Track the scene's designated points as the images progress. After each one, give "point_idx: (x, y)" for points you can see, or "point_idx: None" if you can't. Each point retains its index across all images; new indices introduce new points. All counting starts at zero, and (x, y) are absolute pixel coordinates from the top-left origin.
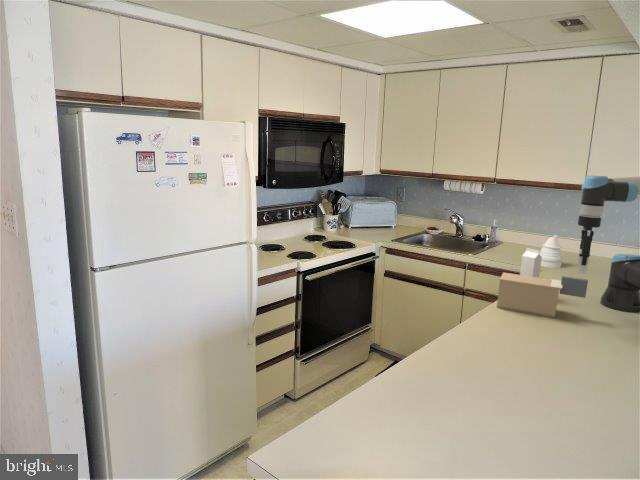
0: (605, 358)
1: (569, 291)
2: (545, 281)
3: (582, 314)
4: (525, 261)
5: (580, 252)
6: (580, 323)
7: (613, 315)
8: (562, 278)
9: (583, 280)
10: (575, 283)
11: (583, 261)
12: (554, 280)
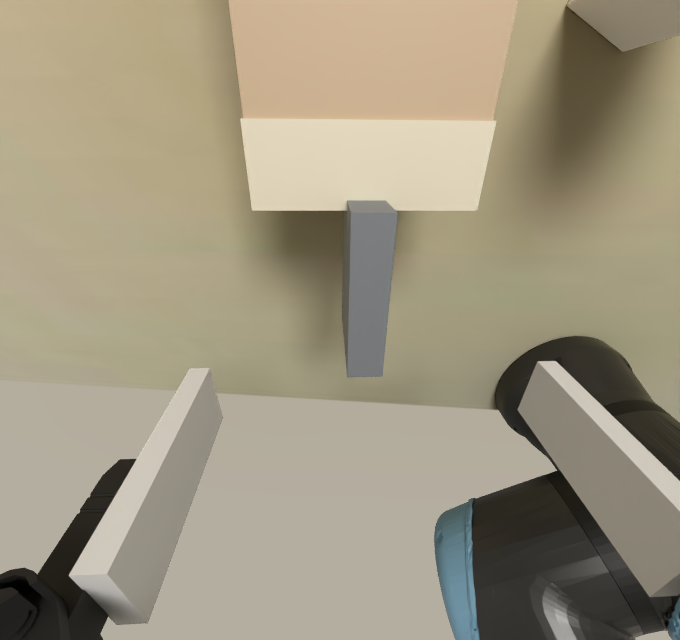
0: (2, 326)
1: (344, 250)
2: (398, 60)
3: (401, 276)
4: None
5: (657, 506)
6: (284, 268)
7: (440, 362)
8: (350, 215)
9: (347, 354)
10: (346, 299)
11: (85, 521)
12: (457, 146)
